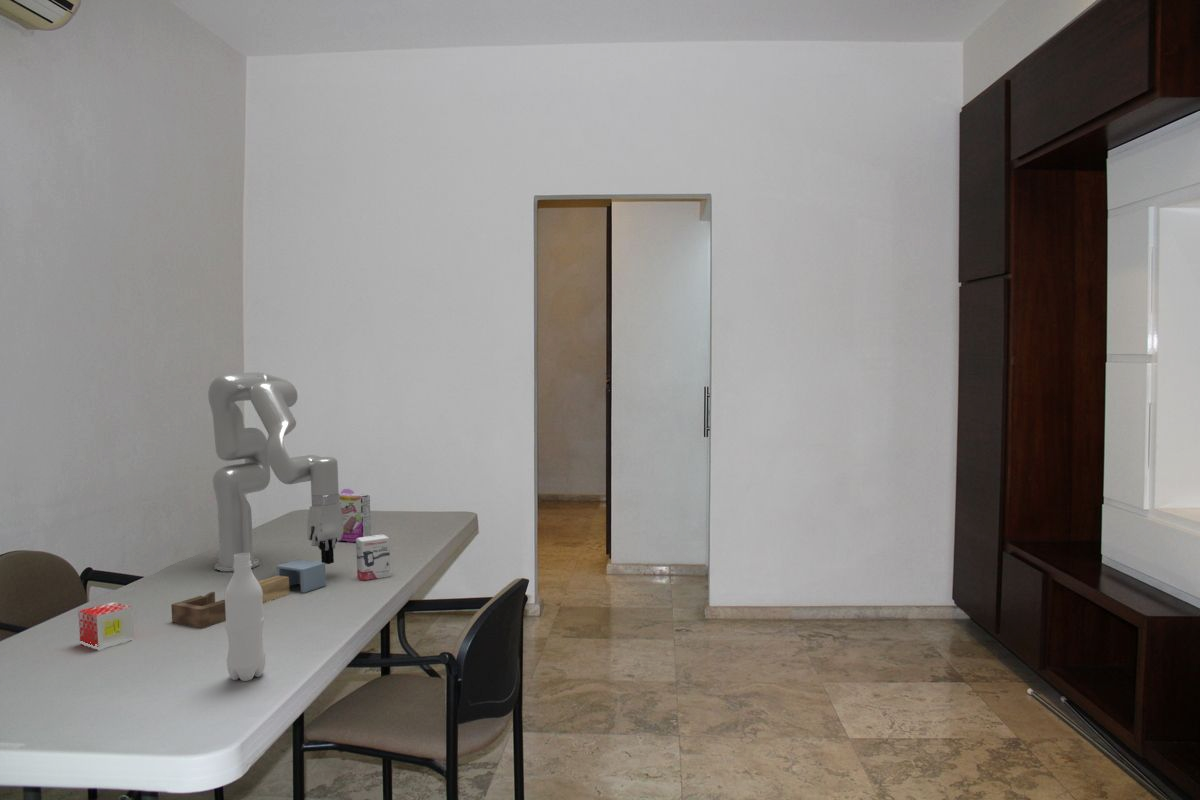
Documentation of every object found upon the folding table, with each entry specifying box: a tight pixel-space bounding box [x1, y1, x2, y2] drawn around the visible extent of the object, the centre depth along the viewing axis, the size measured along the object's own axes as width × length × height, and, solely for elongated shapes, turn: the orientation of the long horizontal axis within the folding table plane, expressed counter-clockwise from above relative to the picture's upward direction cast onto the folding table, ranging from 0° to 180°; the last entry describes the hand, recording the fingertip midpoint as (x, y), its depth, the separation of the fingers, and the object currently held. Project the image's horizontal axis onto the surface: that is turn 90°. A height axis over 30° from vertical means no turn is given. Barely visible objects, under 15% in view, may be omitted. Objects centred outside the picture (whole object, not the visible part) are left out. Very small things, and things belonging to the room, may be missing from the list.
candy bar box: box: [338, 493, 372, 543], centre depth 296 cm, size 11×5×16 cm, turn 71°
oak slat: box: [258, 576, 291, 604], centre depth 225 cm, size 4×16×5 cm, turn 155°
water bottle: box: [223, 553, 266, 682], centre depth 171 cm, size 7×7×25 cm
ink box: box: [355, 534, 391, 582], centre depth 247 cm, size 8×5×12 cm, turn 123°
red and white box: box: [77, 601, 135, 647], centre depth 194 cm, size 8×8×8 cm
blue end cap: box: [275, 559, 327, 593], centre depth 237 cm, size 10×8×6 cm
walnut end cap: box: [170, 591, 226, 629], centre depth 211 cm, size 12×12×4 cm
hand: (327, 562), depth 246 cm, fingers closed
